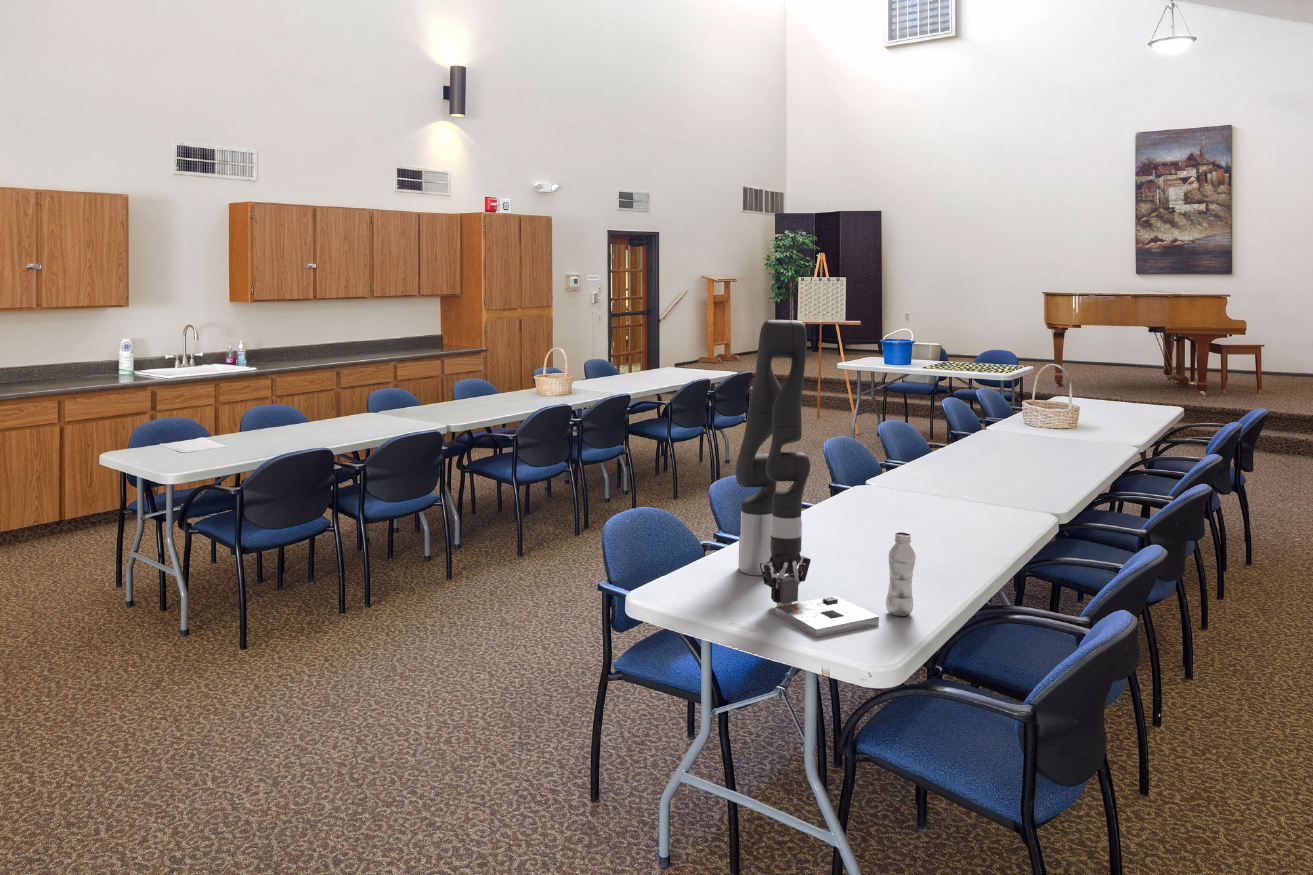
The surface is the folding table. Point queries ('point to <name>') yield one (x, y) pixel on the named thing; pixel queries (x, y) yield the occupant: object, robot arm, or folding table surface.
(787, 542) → the robot arm
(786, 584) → the plug
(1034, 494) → the folding table surface
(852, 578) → the folding table surface
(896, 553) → the plastic bottle
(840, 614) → the socket plate
